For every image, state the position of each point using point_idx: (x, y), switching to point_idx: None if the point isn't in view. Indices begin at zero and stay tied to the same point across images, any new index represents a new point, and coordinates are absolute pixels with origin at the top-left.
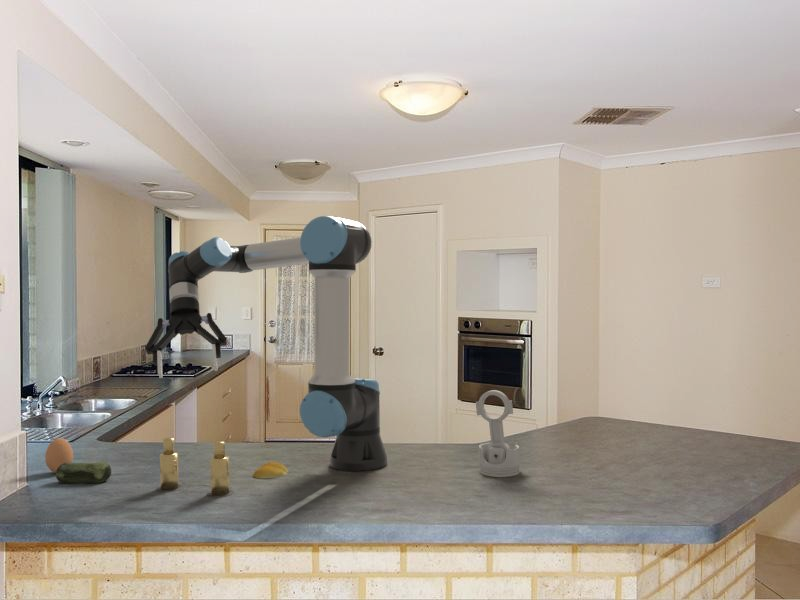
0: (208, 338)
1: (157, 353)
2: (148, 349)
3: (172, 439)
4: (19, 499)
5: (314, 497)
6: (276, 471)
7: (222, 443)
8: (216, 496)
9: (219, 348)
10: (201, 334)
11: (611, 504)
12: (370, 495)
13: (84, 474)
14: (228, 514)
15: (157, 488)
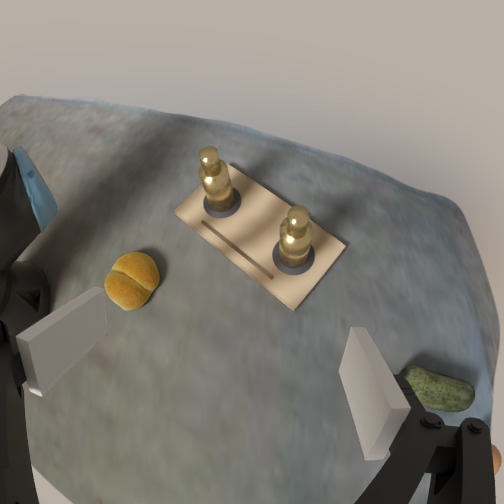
0: (10, 393)
1: (402, 395)
2: (464, 420)
3: (290, 208)
4: (486, 310)
5: (122, 178)
6: (125, 255)
7: (204, 148)
8: None
9: (19, 333)
10: (25, 475)
11: (5, 125)
12: (78, 170)
13: (434, 372)
14: (224, 149)
15: (312, 261)
